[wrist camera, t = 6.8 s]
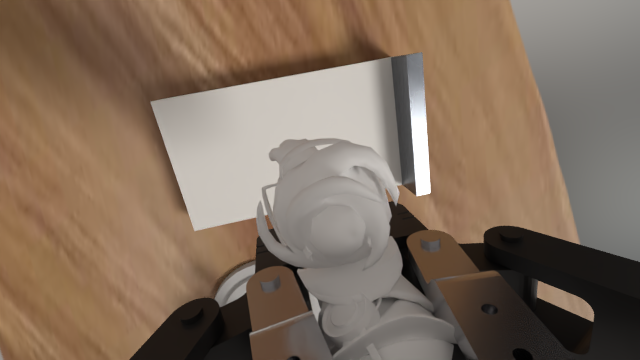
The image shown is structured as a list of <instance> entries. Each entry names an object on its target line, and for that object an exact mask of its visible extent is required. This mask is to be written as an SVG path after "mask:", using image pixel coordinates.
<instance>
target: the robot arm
mask: <svg viewBox="0 0 640 360" xmlns="http://www.w3.org/2000/svg"><path fill="white" fill-rule="evenodd" d="M388 203H389V207H390V210H391V214H392V217H391V219H390V222H389V225H390V234H389V237H390V236H392V237H393V239H394V240H395V242H396V243H397V246H398V248H399V251H400V253H401V257H402V263H403V267H402V271H401V274H402V276H403V277H404V278H406V279H407V280H408V281H409V282H410V283H411V284H412V285H413V286H414V287H416V288H417V289H418V290H419V291H420V292H421V293H422V294H423V295H424V296H426V297H427V298H428V299H429V301H430V302H432V304H433V307H434V312H433V313H432V314H433V315H434V316H435V318H438V319H442V320H444V321H446V322H448V323H450V324H451V325H453V326H454V328H455V331H454V338H455V340H456V342H457V344H453V343H451V344H453V345H454V349H453V355H452V360H640V262H638V261H634V260H630V259H627V258H624V257H620V256H617V255H613V254H610V253H606V252H603V251H600V250H596V249H593V248H589V247H586V246H582V245H579V244H576V243H572V242H569V241H565V240H562V239H558V238H555V237H552V236H548V235H545V234H541V233H538V232H534V231H531V230H527V229H524V228H520V227H515V226H497V227H493V228H490V229H488V230H487V231H486V232H485V233H484V243H472V244H458V243H457V242H456V241H455V239H454V238H453V237H452V236H451V235H449V234H447V233H445V232H442V231H437V230H428V229H427V228H426V227H425V226H424V225H423V224H422V223H421V222H420V221H419V220H418V219H417V218H416V217H414V215H412V214H411V213H410V212H409V211H408V210H407V209H406V208H405V207H404V206H403V205H401V204H398V203H397V205H395V203H394V202H393V201H392V202H388ZM269 232H270V233H271V234H272V236H273V237H274V239H275V240H276V241H277V242H279V243H280V244H281V242H280V240H279V238H278V236H277V234H276V232H275V230H274V228H273V229H269ZM256 247H257V248H256V263H255V274H254V275H253V276H252V277H251V278H250V279H249V280H248V282H247V284H246V293H245V294H244V295H243V296H241V297H240V298H238V299H236V300H234V301H232V302H230V303H228V304H226V305H224V306H222V307H220V306H219V304H218V302H217V301H216V300H214V299H212V298H200V299H196V300H193V301H190V302H188V303H186V304H184V305H182V306H181V307H179V308H178V309H177V310H175V311H174V312H173V313H172V314H171V315H170V316H169V317H168V318H167V319H166V321H165V322H164V323H163V324H162V325H161V326H160V327H159V328H158V329H157V330H156V331H155V332H154V334H153V335H152V336H151V337H150V338H149V339H148V340H147V341H146V342H145V343H144V344H143V345H142V347H141V348H140V349H139V350H138V351H137V352H136V353H135V354H134V355H133V356H132V357H131V358H130V360H333V357H332V355H331V353H330V350H329V348H328V346H327V343H326V341H325V339H324V336H323V334H322V332H321V329H320V327H319V325H318V322H317V320H316V318H315V315H314V313H313V310H312V305H311V300H310V295H309V291H308V290H307V288H306V287H305V286H304V284H303V282H302V280H301V278H300V276H299V275H298V273H297V270H298V269H304V267H296V266H293V265H291V264H289V263H286V262H284V261H282V260H280V259H279V258H278V257H276V256H275V255H274V254H272V253H271V252H270V251H268V249H267V247H266V246H265V244H264V243H263V241H262V239H261V238H260V236H259V237H258V238H257V246H256ZM538 281H541V282H543V283H546V284H548V285H551V286H553V287H556V288H558V289H561V290H563V291H566V292H568V293H571V294H573V295H576V296H578V297H580V298H582V299H583V300H585V301H586V302H587V303H588V304H589V305H590V306H591V307H592V309H593V311H594V322H592V321H589V320H587V319H585V318H583V317H580V316H578V315H576V314H573V313H571V312H569V311H567V310H564V309H562V308H560V307H558V306H555V305H553V304H551V303H548V302H546V301H544V300H542V299H539V298H537V285H538Z"/></svg>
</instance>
